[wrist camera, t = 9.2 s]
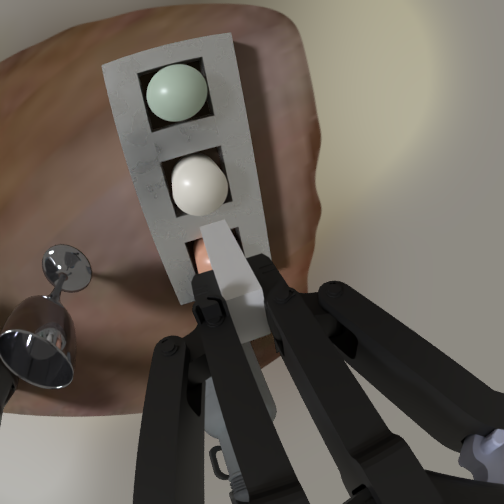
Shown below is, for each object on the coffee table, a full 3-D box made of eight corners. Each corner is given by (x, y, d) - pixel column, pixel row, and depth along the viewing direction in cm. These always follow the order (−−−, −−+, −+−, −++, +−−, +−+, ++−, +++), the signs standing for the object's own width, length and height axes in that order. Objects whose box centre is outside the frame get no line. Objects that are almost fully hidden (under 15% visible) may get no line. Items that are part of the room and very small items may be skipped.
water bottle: (229, 365, 47) (283, 514, 24) (176, 357, 42) (214, 527, 19) (257, 325, 44) (334, 492, 21) (199, 313, 39) (258, 514, 16)
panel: (178, 290, 36) (180, 305, 34) (107, 68, 21) (101, 65, 18) (266, 263, 38) (273, 275, 35) (224, 38, 22) (230, 32, 20)
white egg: (178, 203, 30) (181, 222, 26) (165, 160, 27) (166, 172, 23) (222, 190, 31) (232, 207, 26) (212, 147, 28) (221, 156, 24)
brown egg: (199, 269, 35) (205, 294, 31) (188, 235, 32) (192, 257, 28) (238, 257, 36) (249, 281, 31) (229, 222, 33) (240, 242, 29)
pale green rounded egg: (156, 124, 25) (154, 128, 21) (145, 78, 22) (141, 73, 18) (204, 111, 26) (212, 112, 21) (195, 65, 23) (201, 58, 19)
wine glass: (87, 238, 29) (53, 332, 17) (100, 293, 33) (85, 390, 21) (32, 244, 27) (-17, 330, 14) (49, 296, 31) (20, 386, 18)
